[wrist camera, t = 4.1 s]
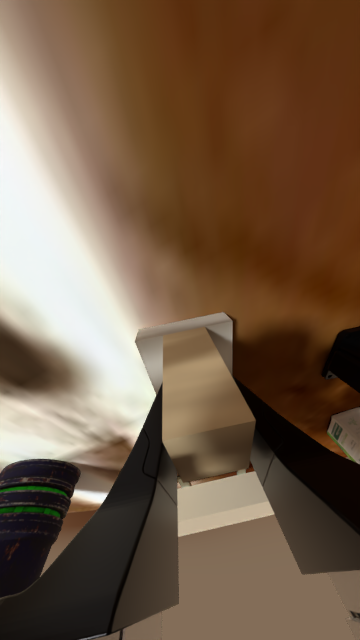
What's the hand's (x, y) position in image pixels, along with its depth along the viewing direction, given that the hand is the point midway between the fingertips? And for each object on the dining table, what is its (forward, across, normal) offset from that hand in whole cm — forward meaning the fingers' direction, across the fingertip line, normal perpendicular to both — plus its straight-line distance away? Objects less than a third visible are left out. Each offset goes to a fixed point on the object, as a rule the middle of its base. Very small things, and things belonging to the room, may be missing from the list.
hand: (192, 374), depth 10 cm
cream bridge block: (+3, 0, +25) cm, 25 cm away
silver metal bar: (+3, 0, +9) cm, 10 cm away
